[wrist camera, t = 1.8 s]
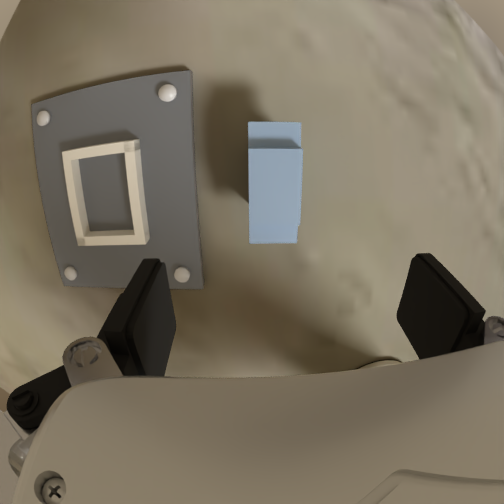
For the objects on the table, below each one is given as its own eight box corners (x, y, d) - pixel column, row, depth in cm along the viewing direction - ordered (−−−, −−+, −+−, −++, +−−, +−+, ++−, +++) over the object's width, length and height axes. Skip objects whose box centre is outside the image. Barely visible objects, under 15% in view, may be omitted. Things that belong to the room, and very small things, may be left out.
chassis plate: (192, 71, 23) (187, 67, 21) (204, 284, 33) (201, 296, 31) (36, 104, 23) (23, 105, 21) (67, 281, 33) (58, 292, 31)
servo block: (291, 121, 26) (303, 122, 20) (289, 222, 30) (298, 248, 25) (248, 120, 26) (248, 122, 20) (249, 222, 30) (249, 248, 25)
